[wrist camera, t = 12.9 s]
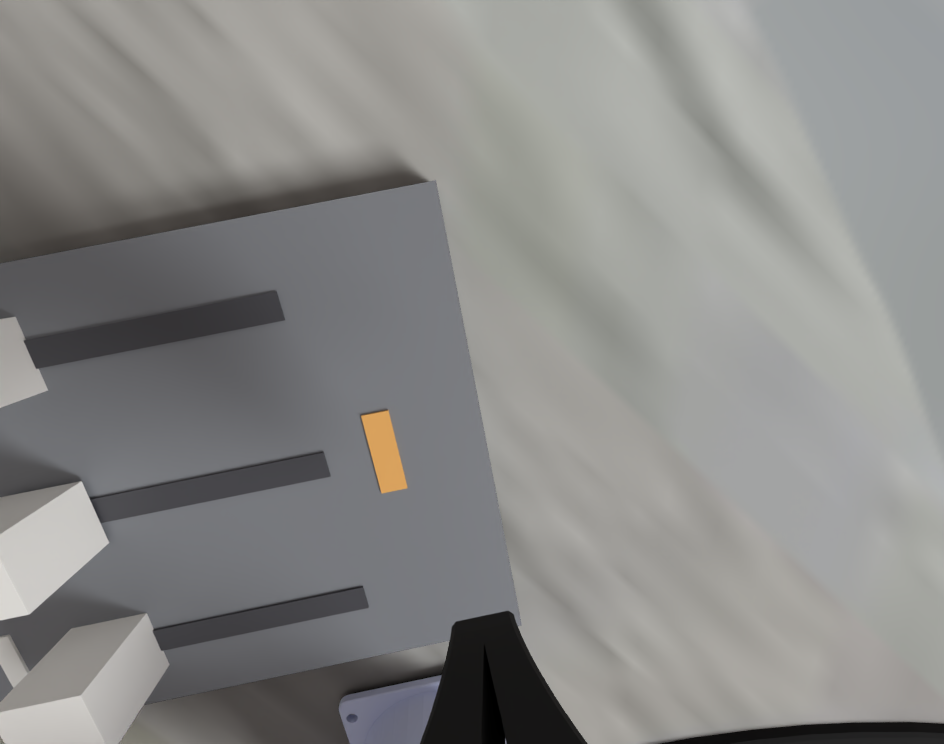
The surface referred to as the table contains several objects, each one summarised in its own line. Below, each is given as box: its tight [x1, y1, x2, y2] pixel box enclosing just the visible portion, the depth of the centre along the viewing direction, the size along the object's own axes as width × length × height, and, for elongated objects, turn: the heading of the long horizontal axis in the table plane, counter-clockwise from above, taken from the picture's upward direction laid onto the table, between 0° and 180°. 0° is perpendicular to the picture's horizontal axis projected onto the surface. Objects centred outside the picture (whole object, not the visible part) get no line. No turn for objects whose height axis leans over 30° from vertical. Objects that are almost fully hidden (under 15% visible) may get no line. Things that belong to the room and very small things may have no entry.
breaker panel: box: [0, 180, 522, 744], centre depth 17 cm, size 18×24×5 cm
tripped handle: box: [0, 481, 109, 620], centre depth 16 cm, size 3×3×4 cm
